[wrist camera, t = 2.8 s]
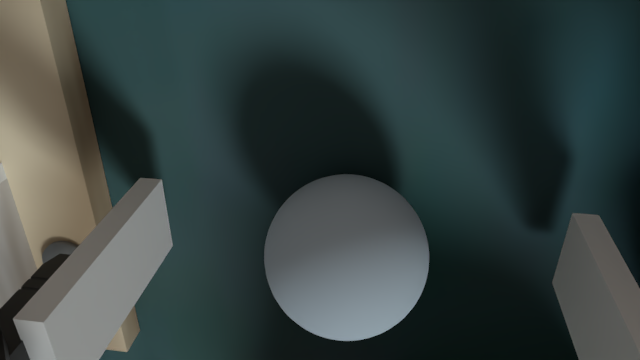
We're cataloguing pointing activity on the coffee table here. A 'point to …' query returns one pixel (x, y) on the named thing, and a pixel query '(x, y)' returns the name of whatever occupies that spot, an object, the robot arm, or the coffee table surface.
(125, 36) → the coffee table surface
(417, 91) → the coffee table surface
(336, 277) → the grey ball
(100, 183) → the rack
